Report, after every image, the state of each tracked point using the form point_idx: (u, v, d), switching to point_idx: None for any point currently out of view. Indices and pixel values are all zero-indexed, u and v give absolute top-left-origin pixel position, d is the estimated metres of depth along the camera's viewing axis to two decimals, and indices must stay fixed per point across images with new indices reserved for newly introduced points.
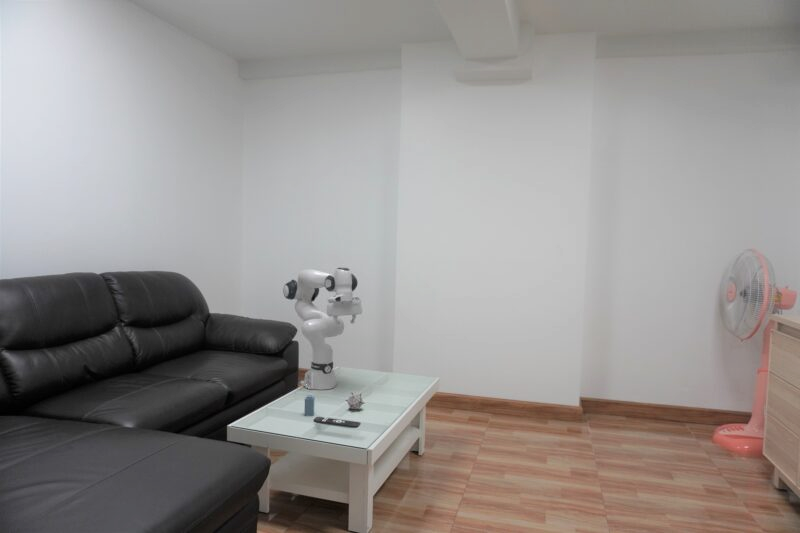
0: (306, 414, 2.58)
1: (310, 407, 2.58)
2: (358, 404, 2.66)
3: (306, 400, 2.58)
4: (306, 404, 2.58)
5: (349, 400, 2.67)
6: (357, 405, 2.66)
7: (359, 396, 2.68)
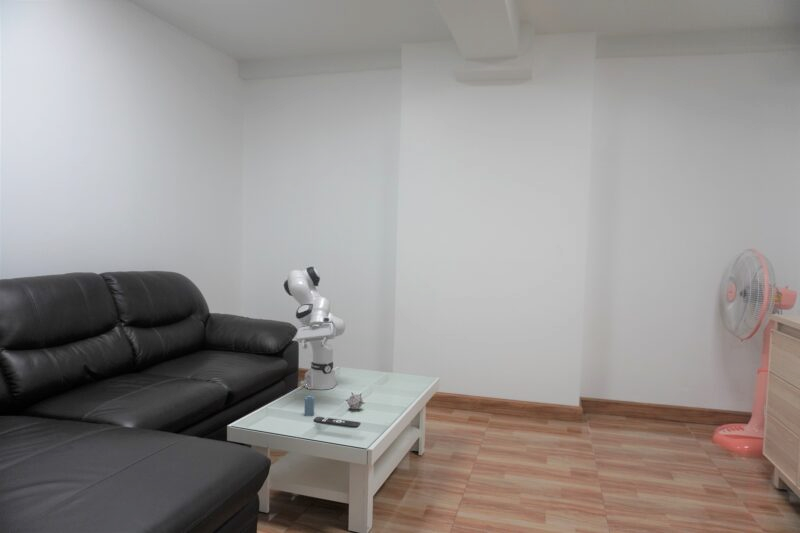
0: (306, 414, 2.58)
1: (310, 407, 2.58)
2: (358, 404, 2.66)
3: (306, 400, 2.58)
4: (306, 404, 2.58)
5: (349, 400, 2.67)
6: (357, 405, 2.66)
7: (359, 396, 2.68)
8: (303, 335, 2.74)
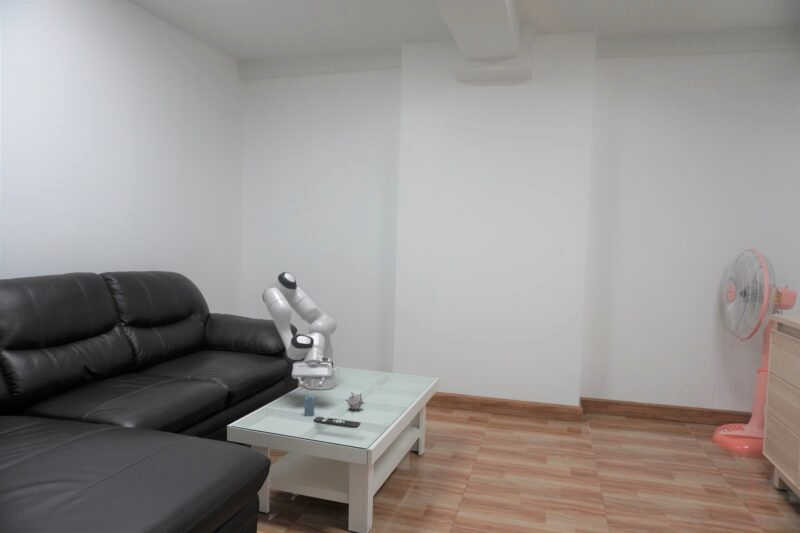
0: (306, 414, 2.58)
1: (310, 407, 2.58)
2: (358, 404, 2.66)
3: (306, 400, 2.58)
4: (306, 404, 2.58)
5: (349, 400, 2.67)
6: (357, 405, 2.66)
7: (359, 396, 2.68)
8: (300, 372, 2.71)
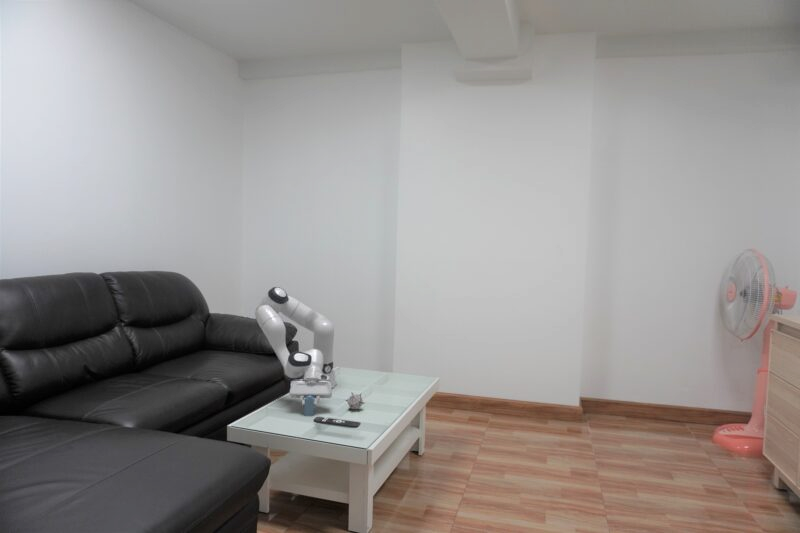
0: (306, 414, 2.58)
1: (310, 407, 2.58)
2: (358, 404, 2.66)
3: (306, 400, 2.58)
4: (306, 404, 2.58)
5: (349, 400, 2.67)
6: (357, 405, 2.66)
7: (359, 396, 2.68)
8: (298, 391, 2.62)
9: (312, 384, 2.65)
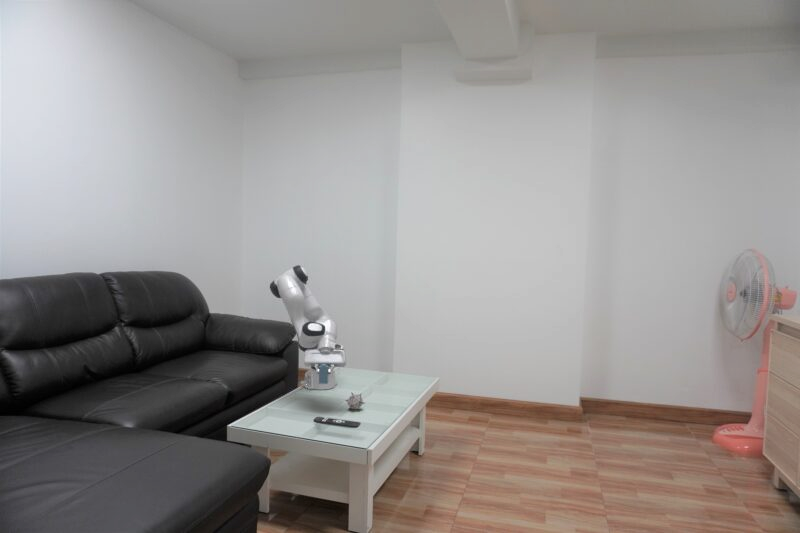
0: (320, 382, 2.60)
1: (324, 375, 2.60)
2: (358, 404, 2.66)
3: (320, 368, 2.60)
4: (320, 372, 2.60)
5: (349, 400, 2.67)
6: (357, 405, 2.66)
7: (359, 396, 2.68)
8: (313, 360, 2.64)
9: (326, 353, 2.67)
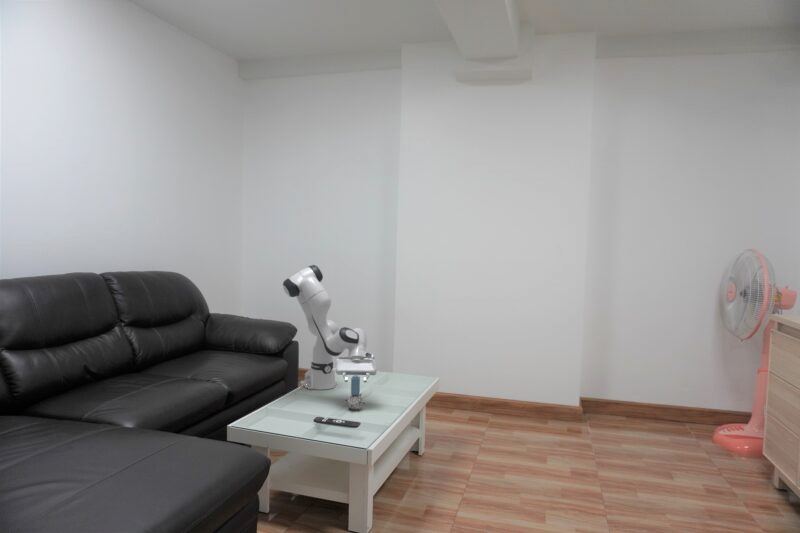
0: (352, 393, 2.67)
1: (356, 387, 2.67)
2: (358, 404, 2.66)
3: (352, 380, 2.66)
4: (352, 383, 2.66)
5: (349, 400, 2.67)
6: (357, 405, 2.66)
7: (359, 396, 2.68)
8: (344, 368, 2.71)
9: (357, 362, 2.73)
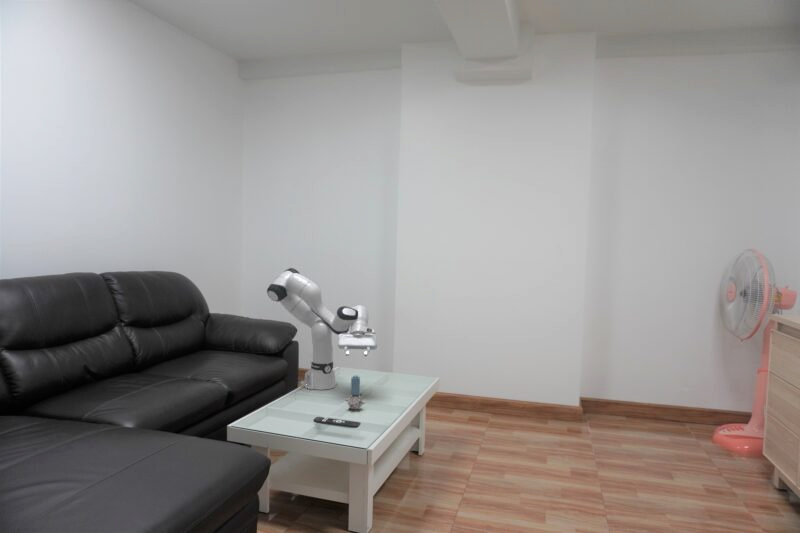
0: (352, 393, 2.67)
1: (356, 387, 2.66)
2: (358, 404, 2.66)
3: (352, 380, 2.66)
4: (352, 384, 2.66)
5: (349, 400, 2.67)
6: (357, 405, 2.66)
7: (359, 396, 2.68)
8: (346, 342, 2.83)
9: (358, 336, 2.85)
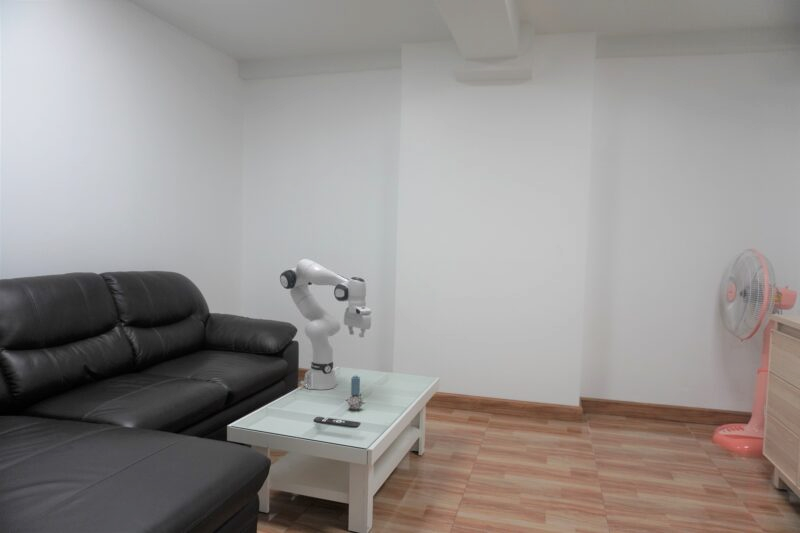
0: (352, 393, 2.67)
1: (356, 387, 2.66)
2: (358, 404, 2.66)
3: (352, 380, 2.66)
4: (352, 384, 2.66)
5: (349, 400, 2.67)
6: (357, 405, 2.66)
7: (359, 396, 2.68)
8: (347, 322, 2.85)
9: (354, 316, 2.80)
